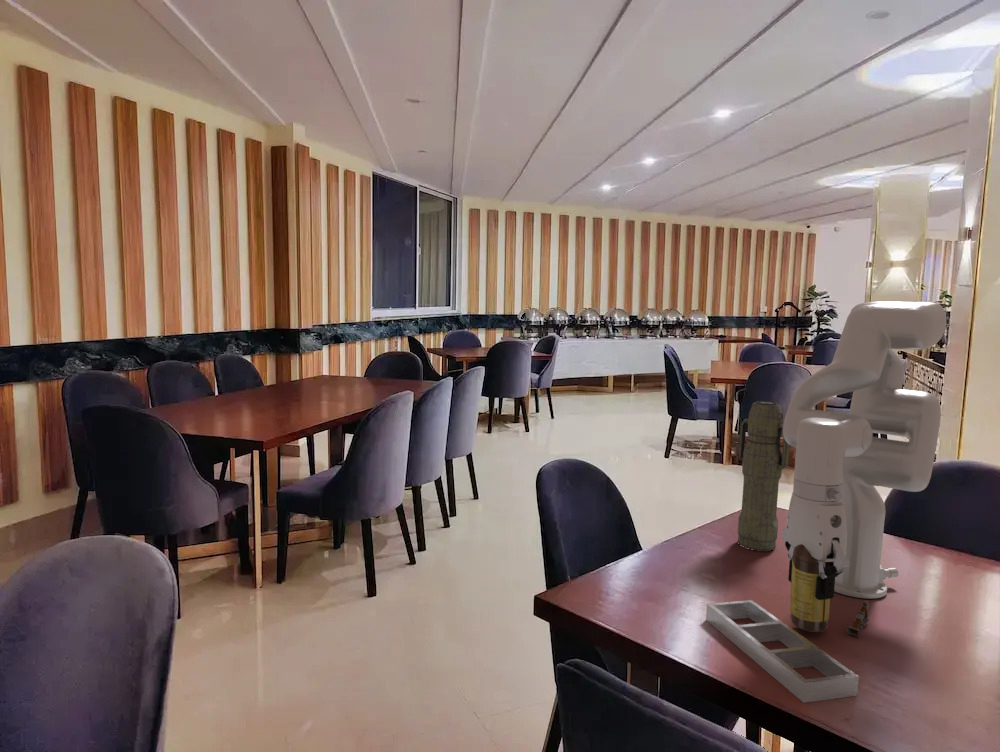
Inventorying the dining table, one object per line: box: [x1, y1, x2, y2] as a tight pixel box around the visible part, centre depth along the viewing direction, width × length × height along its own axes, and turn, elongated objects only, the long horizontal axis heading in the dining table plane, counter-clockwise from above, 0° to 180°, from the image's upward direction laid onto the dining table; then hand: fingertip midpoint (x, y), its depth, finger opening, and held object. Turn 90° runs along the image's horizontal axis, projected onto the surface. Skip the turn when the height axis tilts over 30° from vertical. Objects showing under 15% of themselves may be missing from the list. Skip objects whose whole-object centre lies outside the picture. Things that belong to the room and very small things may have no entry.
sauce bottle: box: [789, 544, 831, 633], centre depth 115 cm, size 6×6×20 cm
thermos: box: [737, 400, 791, 552], centre depth 158 cm, size 9×12×35 cm
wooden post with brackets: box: [847, 600, 870, 638], centre depth 119 cm, size 2×8×4 cm, turn 136°
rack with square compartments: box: [705, 599, 860, 704], centre depth 109 cm, size 9×26×3 cm, turn 14°
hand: (810, 588), depth 116 cm, fingers closed on sauce bottle, 6 cm apart
